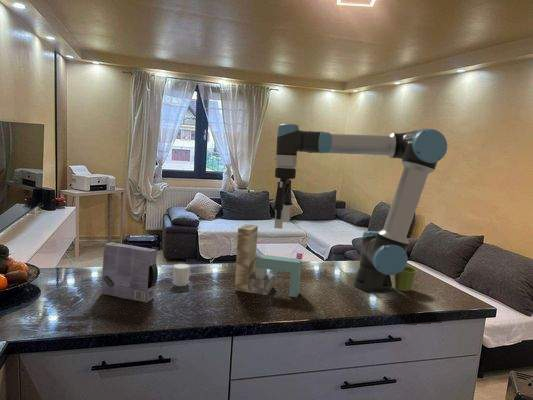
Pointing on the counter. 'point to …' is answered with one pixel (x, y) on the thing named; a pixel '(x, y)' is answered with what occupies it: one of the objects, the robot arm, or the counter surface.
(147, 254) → the cake pan box
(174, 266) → the white cylinder
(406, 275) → the plant pot
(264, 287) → the post
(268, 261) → the rail
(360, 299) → the counter surface
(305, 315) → the counter surface
